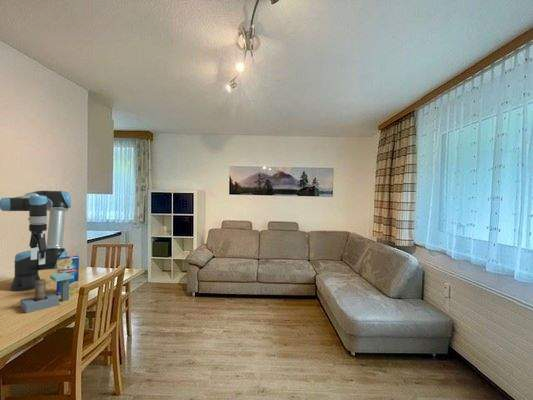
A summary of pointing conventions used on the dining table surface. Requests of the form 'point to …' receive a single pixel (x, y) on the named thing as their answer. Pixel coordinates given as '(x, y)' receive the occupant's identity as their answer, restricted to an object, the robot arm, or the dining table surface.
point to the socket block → (39, 303)
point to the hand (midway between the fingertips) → (37, 261)
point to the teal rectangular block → (62, 284)
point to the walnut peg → (39, 290)
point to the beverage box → (70, 267)
